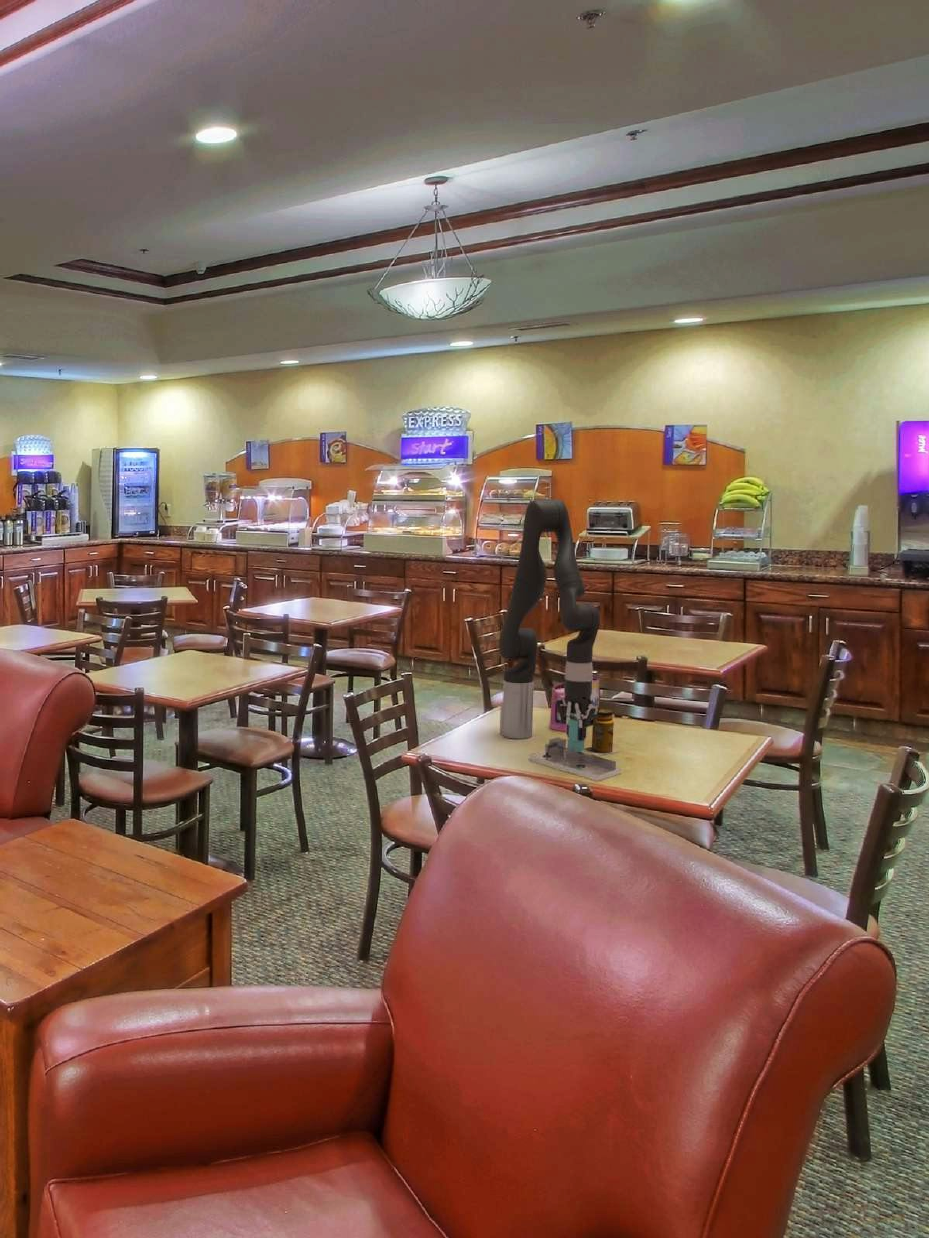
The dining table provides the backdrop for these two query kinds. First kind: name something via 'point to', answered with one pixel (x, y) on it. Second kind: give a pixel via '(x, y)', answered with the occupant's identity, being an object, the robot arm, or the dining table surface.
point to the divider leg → (573, 739)
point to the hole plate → (575, 761)
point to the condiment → (602, 734)
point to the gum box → (558, 695)
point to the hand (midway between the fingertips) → (576, 738)
